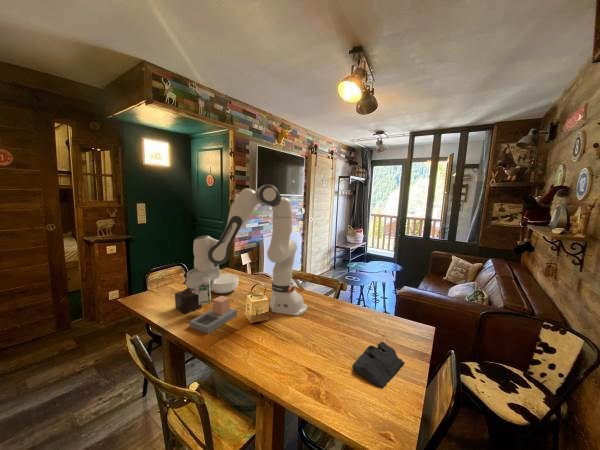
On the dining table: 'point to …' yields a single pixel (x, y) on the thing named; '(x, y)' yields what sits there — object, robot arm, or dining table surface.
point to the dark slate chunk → (378, 364)
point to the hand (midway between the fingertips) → (204, 290)
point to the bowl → (225, 283)
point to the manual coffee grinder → (187, 299)
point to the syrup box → (205, 291)
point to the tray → (214, 315)
